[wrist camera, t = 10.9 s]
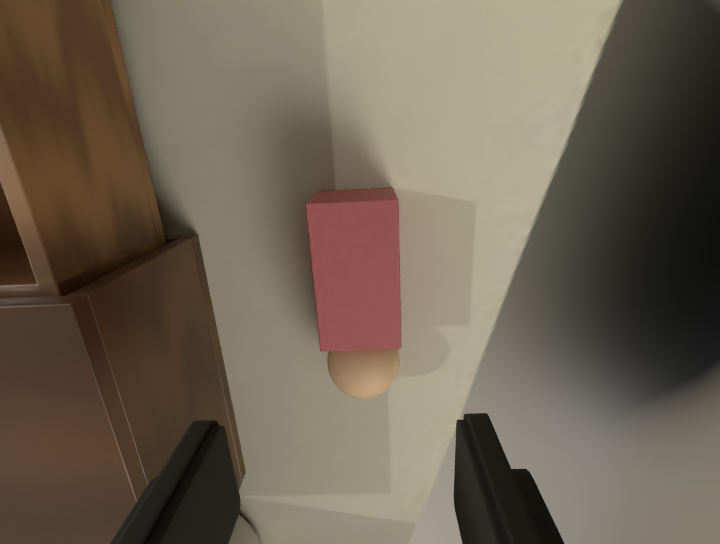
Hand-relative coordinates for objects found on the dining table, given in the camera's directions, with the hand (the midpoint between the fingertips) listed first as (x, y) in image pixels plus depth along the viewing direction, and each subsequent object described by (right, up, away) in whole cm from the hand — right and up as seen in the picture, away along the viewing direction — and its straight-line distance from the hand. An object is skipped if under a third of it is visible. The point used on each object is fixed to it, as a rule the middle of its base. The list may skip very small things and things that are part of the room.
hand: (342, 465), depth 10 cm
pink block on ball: (0, +4, +15) cm, 16 cm away
